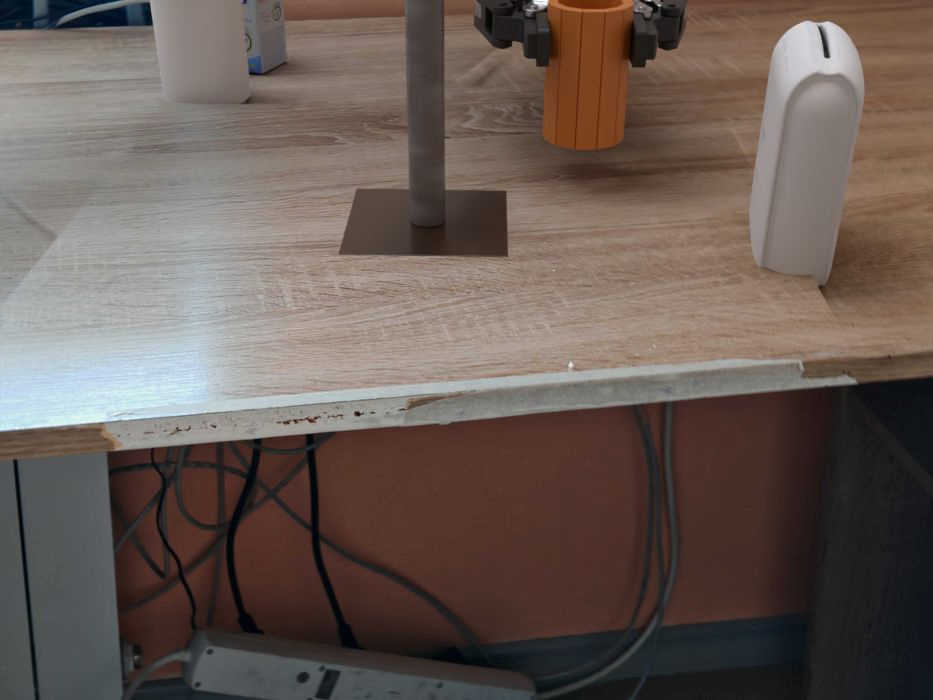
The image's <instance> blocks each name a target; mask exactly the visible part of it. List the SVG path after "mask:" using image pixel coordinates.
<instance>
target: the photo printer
mask: <svg viewBox="0 0 933 700" xmlns="http://www.w3.org/2000/svg"><path fill="white" fill-rule="evenodd" d="M860 59H861V58H860V54H859V51H858V49H857V46H856V45H855V44H854V42H853V40H852V39H851V37H850V36H849V35H848V33H847V32H846V31H845V30H844V29H843V28H841V26H839V25H837V24H835V23H834V22H832V21H823V22H813V21H811V20H804V21H802V22H800V23H798V24H796V25H794V26H792V27H791V28H789V29H788V30H787V31H786V32H785V33H784V34H782V36H781V37H780V39H779V40H778V42H777V43H776V45H775V47H774V49H773V51H772V55H771V59H770V64H769V72H768V80H767V84H766V92H765V98H764V105H763V109H762V110H763V111H762V117H761V123H760V131H759V137H758V144H757V151H756V156H755V157H756V158H755V164H754V171H753V177H752V178H753V179H752V186H751V192H750V199H749V209H748V210H749V211H748V216H749V217H748V219H749V221H748V223H749V237H750V244H751V251H752V257H753V259H754V262H755V264H756V265H757V267H758V268H760V269H768V270H771V271H773V272H778V273H780V274H783V275H784V274H785V275H789V276H811V277H812V280H813V281H814V283H815V284H816V286H817V287H819V286H825V285H826V284H827V282H828V280H829V277H830V274H831V270H832V266H833V262H834V256H835V251H836V247H837V241H838V237H839V232H840V231H839V230H840V225H841V220H842V215H843V209H844V205H845V200H846V194H847V188H848V184H849V179H850V175H851V168H852V163H853V158H854V152H855V147H856V143H857V139H858V133H859V129H860V123H861V119H862V114H863V111H864V103H865V97H866V94H865V93H866V90H865V88H866V87H865V77H864V71H863V65H862V62H861V60H860Z"/></svg>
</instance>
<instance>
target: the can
mask: <svg viewBox="0 0 933 700" xmlns="http://www.w3.org/2000/svg"><path fill="white" fill-rule="evenodd" d="M149 6H150V12H151V19H152V27H153V34H154V40H155V47H156V54H157V61H158V62H157V63H158V68H159V74H160V81H161V89H162V94H163V99H164V102H165V103H166V104H204V105H205V104H206V105H207V104H211V105H212V104H214V105H223V104H224V105H245V103H247V101H248V99H249V98H250V96H251V85H250V84H251V83H250V72H249V71H248V61H247V50H246V40H245V30H244V20H243V10H242V0H149Z"/></svg>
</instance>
